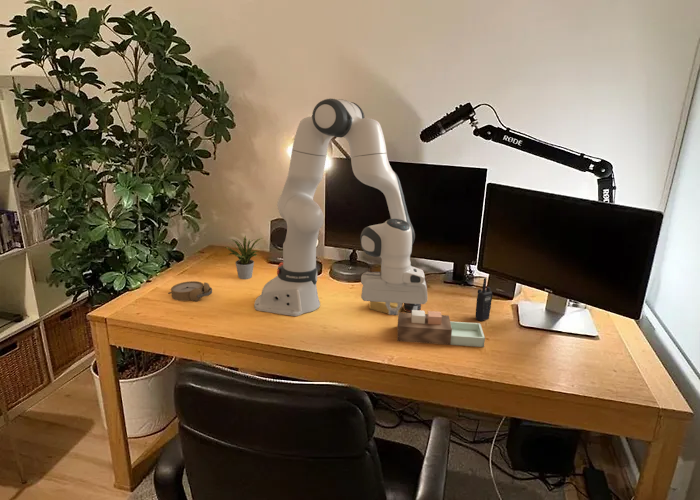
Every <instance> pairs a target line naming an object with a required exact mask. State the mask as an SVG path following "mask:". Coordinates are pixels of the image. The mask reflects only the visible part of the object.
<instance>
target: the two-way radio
mask: <svg viewBox="0 0 700 500" xmlns="http://www.w3.org/2000/svg"><path fill="white" fill-rule="evenodd" d="M486 286H487V277H484V278H483V283H482V289H481V288H478V290H477V296H476V303H475V305H476V307H475V316H474V317H475V320H477V321H480V322H482V321H486V320H488V319H490V313H491V309H492V301H493V291H492V290H491V287H490V286H487V287H486Z"/></svg>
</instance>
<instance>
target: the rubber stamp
mask: <svg viewBox="0 0 700 500" xmlns="http://www.w3.org/2000/svg"><path fill="white" fill-rule="evenodd" d="M397 306H398V303H392V302H390V307H391V308H396V307H397ZM403 307H404V303H402V307H401V308H400V309H399V311H398V312H403ZM369 310H372V311H376V312H380V313H384V314H388V315H389V310H388V309H387V307H386V302H374V301H369Z"/></svg>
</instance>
